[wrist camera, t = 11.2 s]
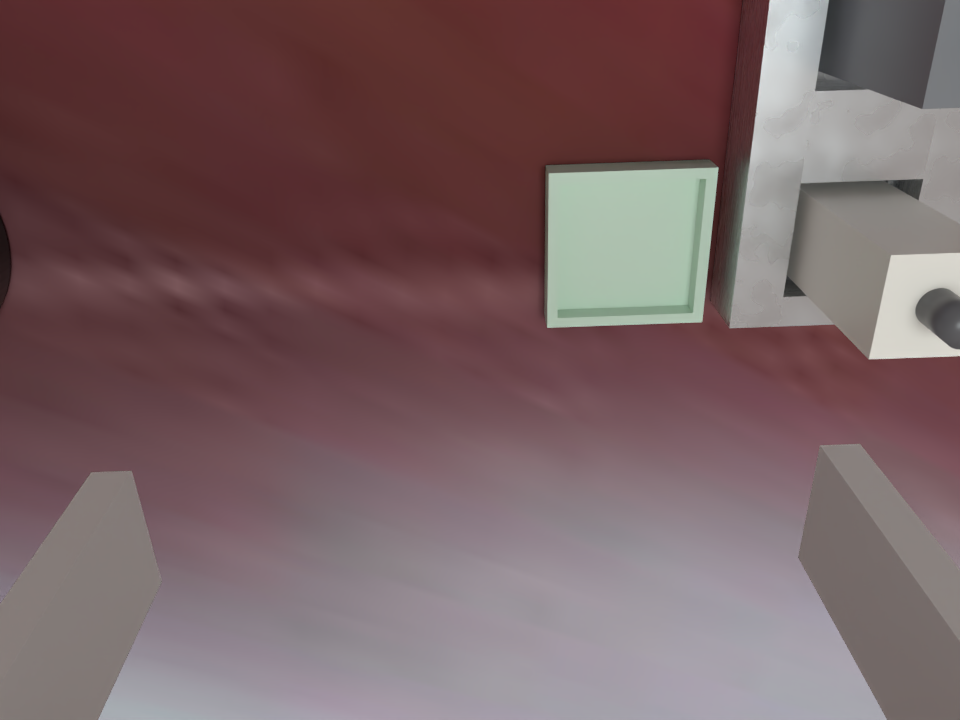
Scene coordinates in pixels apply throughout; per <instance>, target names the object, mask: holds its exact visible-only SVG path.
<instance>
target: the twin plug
mask: <svg viewBox="0 0 960 720" xmlns="http://www.w3.org/2000/svg"><path fill="white" fill-rule="evenodd" d="M818 71H819V72H822V73H825V74H828V75H830V76H833V77H836V78H838V79H841V80H844V81H847V82H849V83H852V84H855V85H858V86H860V87H863V88H866V89H869V90H871V91H874V92H877V93H879V94H882V95H885V96H888V97H890V98H893V99H896V100H899V101H901V102H904V103H907V104H910V105H912V106H915V107H918V108H920V109H941V108H960V0H829V3H828V10H827V16H826V23H825V29H824V36H823V42H822V49H821V55H820V62H819V68H818Z"/></svg>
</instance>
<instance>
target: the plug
mask: <svg viewBox="0 0 960 720" xmlns="http://www.w3.org/2000/svg"><path fill="white" fill-rule="evenodd" d="M787 276H788V277H789V278H790V279H791V280H792V281H793V282H794V283H795V284H796V285H797V286H798V287H799V288H800V289H801V290H802V291H803V292H804V293H805V294H806V295H807V296H808V298H809V299H810V300H811V301H812V302H813V303H814V304H815V305H816V306H817V307H818V308H819V309H820V310H821V311H822V312H823V313H824V314H825V315H826V316H827V317H828V318H829V319H830V320H831V321H832V322H833V323H834V324H835V325H836V326H837V327H838V328H839V329H840V330H841V331H842V332H843V333H844V334H845V335H846V336H847V337H848V338H849V340H850V341H851V342H852V343H853V344H854V345H855V346H856V347H857V348H858V349H859V350H860V351H861V352H862V353H863V354H864V355H865V356H866V357H867V358H868V359H892V358H919V357H947V356H960V224H959V223H957V222H956V221H954V220H952V219H950V218H949V217H947V216H945V215H943V214H941V213H940V212H938V211H936V210H934V209H933V208H931V207H929V206H927V205H926V204H924V203H922V202H920V201H919V200H917V199H915V198H913V197H912V196H910V195H908V194H906V193H904V192H903V191H901V190H899V189H897V188H896V187H894V186H892V185H890V184H889V183H887V182H885V181H883V180H881V181H852V182H823V183H801V185H800V191H799V198H798V204H797V211H796V217H795V224H794V230H793V237H792V243H791V250H790V256H789V263H788V269H787Z"/></svg>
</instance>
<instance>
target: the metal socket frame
mask: <svg viewBox="0 0 960 720" xmlns="http://www.w3.org/2000/svg"><path fill="white" fill-rule="evenodd" d="M828 3H829V0H743V4H742V13H741V22H740V31H739V40H738V49H737V59H736V68H735V77H734V86H733V95H732V104H731V113H730V122H729V132H728V141H727V150H726V159H725V168H724V177H723V186H722V196H721V205H720V214H719V223H718V232H717V241H716V250H715V259H714V269H713V278H712V287H711V296H710V301H711V302H712V304H713V305H714V307H715V308H716V310H717V311H718V313H719V314H720V315H721V317H722V318H723V320H724V321H725V323H726V324H727V325H728V327H729V328H748V327H776V326H804V325H831V324H834V323H833V322H832V321H831V320H830V319H829V318H828V317H827V316H826V315H825V314H824V313H823V312H822V311H821V310H820V309H819V308H818V307H817V306H816V305H815V304H814V303H813V302H812V301H811V300H810V299H809V298H808V296H807V295H806V294H805V293H804V292H803V291H802V290H801V289H800V288H799V287H798V286H797V285H796V284H795V283H794V282H793V281H792V280H791V279H790V278H789V277H788V276H787V269H788V263H789V256H790V250H791V243H792V237H793V230H794V224H795V217H796V211H797V204H798V198H799V191H800V185H801V183H823V182H852V181H881V180H883V181H885V182H887V183H889V184H890V185H892V186H894V187H896V188H897V189H899V190H901V191H903V192H904V193H906V194H908V195H910V196H912V197H913V198H915V199H917V200H919V201H920V202H922V203H924V204H926V205H927V206H929V207H931V208H933V209H934V210H936V211H938V212H940V213H941V214H943V215H945V216H947V217H949V218H950V219H952V220H954V221H956V222H957V223H959V224H960V108H941V109H920V108H918V107H915V106H912V105H910V104H907V103H904V102H901V101H899V100H896V99H893V98H890V97H888V96H885V95H882V94H879V93H877V92H874V91H871V90H869V89H866V88H863V87H860V86H858V85H855V84H852V83H849V82H847V81H844V80H841V79H838V78H836V77H833V76H830V75H828V74H825V73H822V72H819V71H818V68H819V62H820V55H821V49H822V42H823V36H824V29H825V23H826V16H827V10H828Z"/></svg>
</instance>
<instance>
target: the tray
mask: <svg viewBox="0 0 960 720" xmlns="http://www.w3.org/2000/svg"><path fill="white" fill-rule="evenodd" d="M718 168H719V167H717V166H716V165H715V164H714V163H713V162H712V161H711V160H682V161H653V162H624V163H595V164H566V165H546V179H545V301H544V316H545V320H546V325H547V328H552V327H580V326H608V325H636V324H664V323H692V322H702V319H703V310H704V300H705V291H706V281H707V272H708V262H709V253H710V244H711V234H712V225H713V215H714V206H715V197H716V187H717V178H718Z"/></svg>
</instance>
